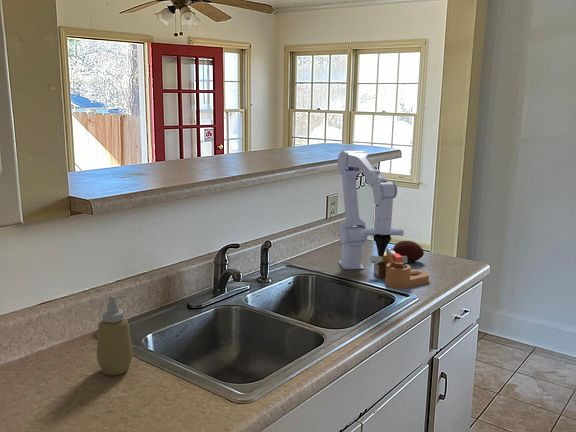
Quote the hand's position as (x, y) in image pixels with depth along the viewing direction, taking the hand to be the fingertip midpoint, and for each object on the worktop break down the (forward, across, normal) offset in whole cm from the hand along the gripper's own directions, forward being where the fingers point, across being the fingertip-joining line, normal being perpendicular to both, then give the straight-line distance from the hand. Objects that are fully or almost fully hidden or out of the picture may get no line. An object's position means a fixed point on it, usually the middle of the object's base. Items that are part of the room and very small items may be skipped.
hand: (380, 255), depth 189 cm
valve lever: (+2, +6, +4) cm, 7 cm away
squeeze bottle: (+10, -79, -56) cm, 97 cm away
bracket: (+11, +11, +1) cm, 15 cm away
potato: (+10, +19, +26) cm, 34 cm away
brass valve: (+10, +6, +9) cm, 15 cm away
